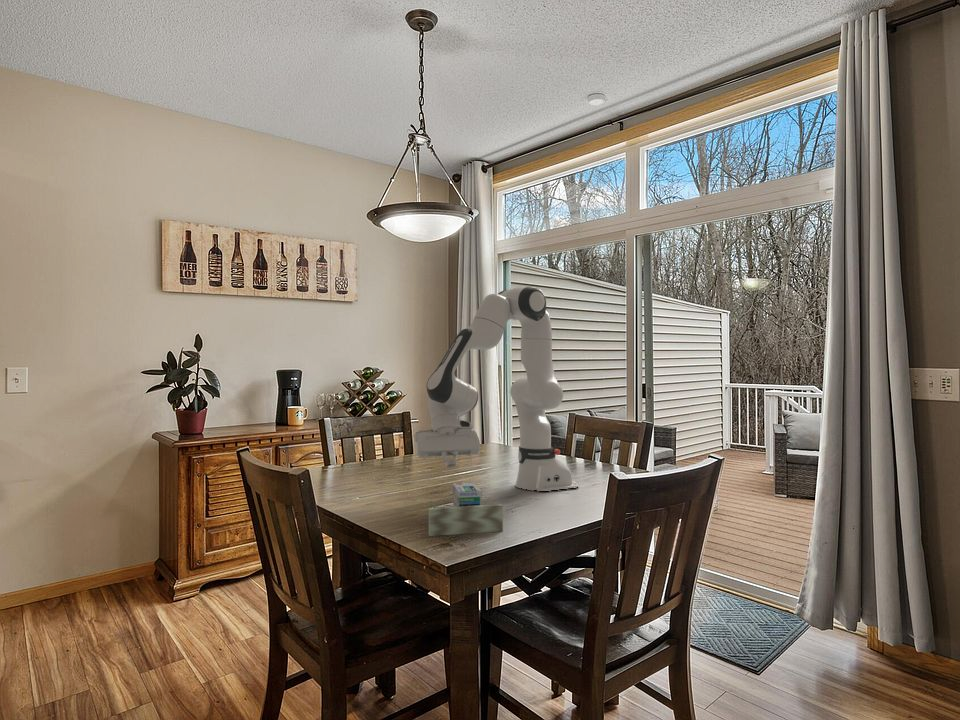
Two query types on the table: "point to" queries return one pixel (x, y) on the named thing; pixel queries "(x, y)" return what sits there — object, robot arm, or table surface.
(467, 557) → the table surface
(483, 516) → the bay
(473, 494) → the light bulb box
